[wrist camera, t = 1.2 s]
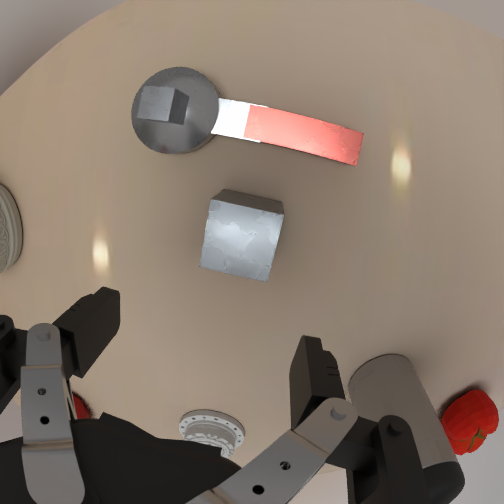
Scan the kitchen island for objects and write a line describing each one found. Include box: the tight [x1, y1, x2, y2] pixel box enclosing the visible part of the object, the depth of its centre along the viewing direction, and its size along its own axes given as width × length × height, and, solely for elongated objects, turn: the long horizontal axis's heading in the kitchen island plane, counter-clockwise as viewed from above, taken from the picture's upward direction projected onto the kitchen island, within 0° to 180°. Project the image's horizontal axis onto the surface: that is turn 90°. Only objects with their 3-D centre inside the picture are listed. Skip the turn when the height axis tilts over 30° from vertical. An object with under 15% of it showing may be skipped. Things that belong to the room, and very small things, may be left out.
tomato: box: [440, 390, 499, 455], centre depth 32 cm, size 11×12×9 cm
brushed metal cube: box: [199, 189, 284, 282], centre depth 26 cm, size 6×6×6 cm
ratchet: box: [132, 67, 364, 166], centre depth 23 cm, size 20×8×7 cm, turn 78°
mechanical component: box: [179, 410, 244, 458], centre depth 38 cm, size 10×4×10 cm
